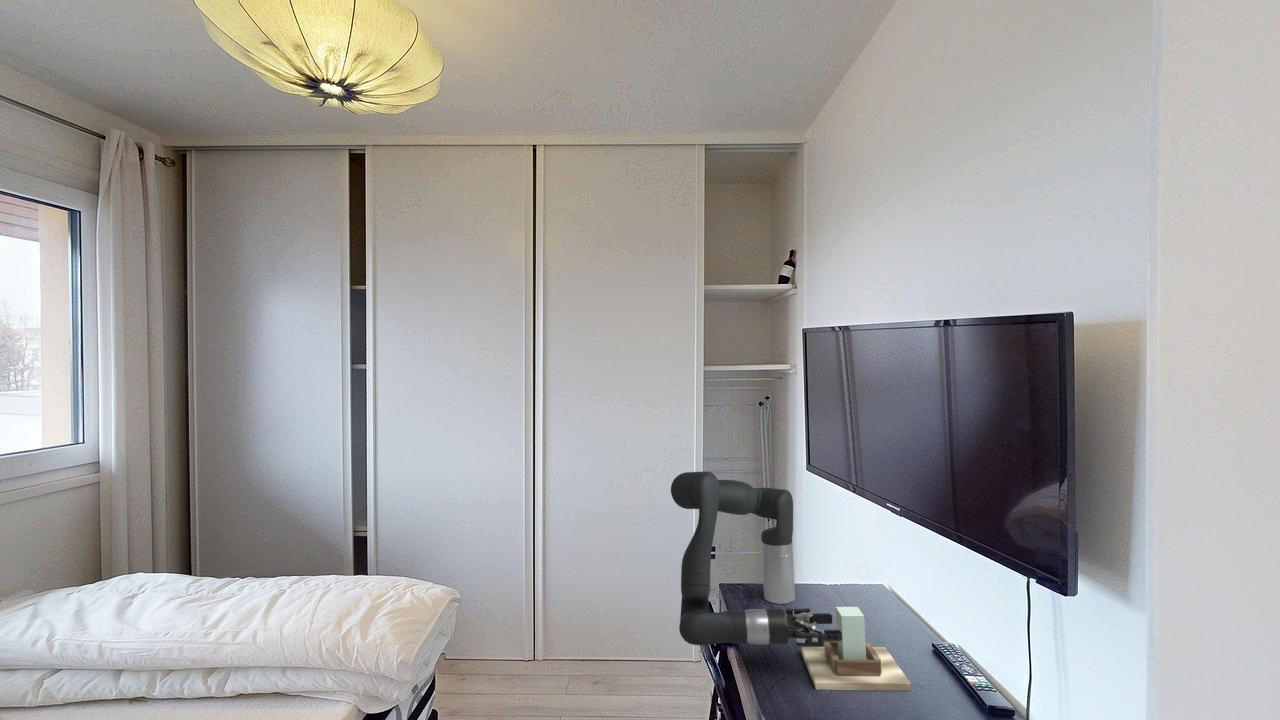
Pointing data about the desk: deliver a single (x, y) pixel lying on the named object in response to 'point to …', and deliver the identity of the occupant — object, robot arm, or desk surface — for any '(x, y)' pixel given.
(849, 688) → the socket board
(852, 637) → the pillar
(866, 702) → the desk surface
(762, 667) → the desk surface
